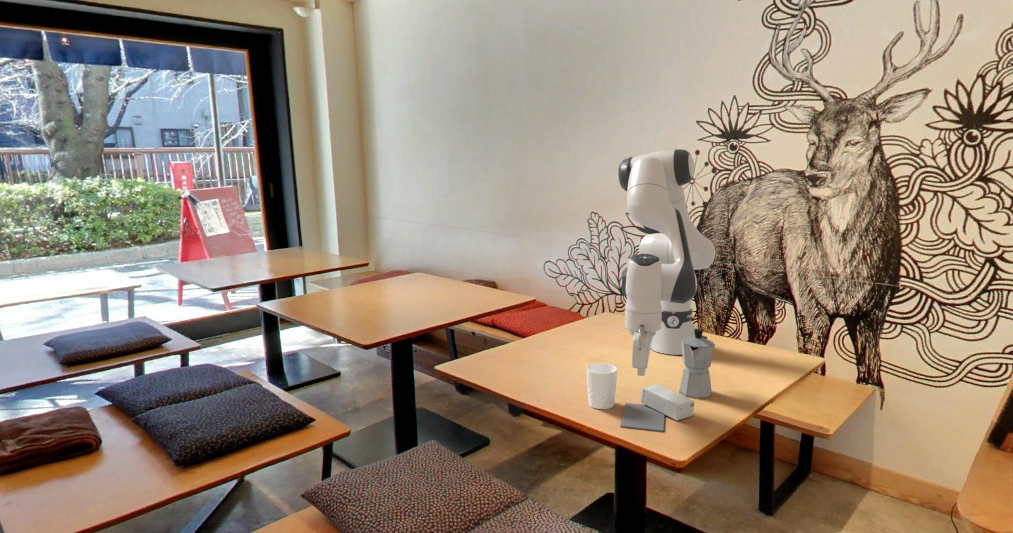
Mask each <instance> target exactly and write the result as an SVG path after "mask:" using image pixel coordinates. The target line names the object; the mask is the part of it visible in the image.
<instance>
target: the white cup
mask: <svg viewBox="0 0 1013 533" xmlns="http://www.w3.org/2000/svg"><path fill="white" fill-rule="evenodd" d="M617 378H618V367H616V366H615V365H613V364H610V363H605V362H603V363H601V362H596V363H591V364H589V365H587V366H586V387H587V388H586V389H587V401H588V402H587V403H588V405H589V407H590V408H594V409H596V410H610V409H612V408H613V407H614V406H615V401H616V400H615V398H616V391H617V380H618V379H617Z"/></svg>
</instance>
